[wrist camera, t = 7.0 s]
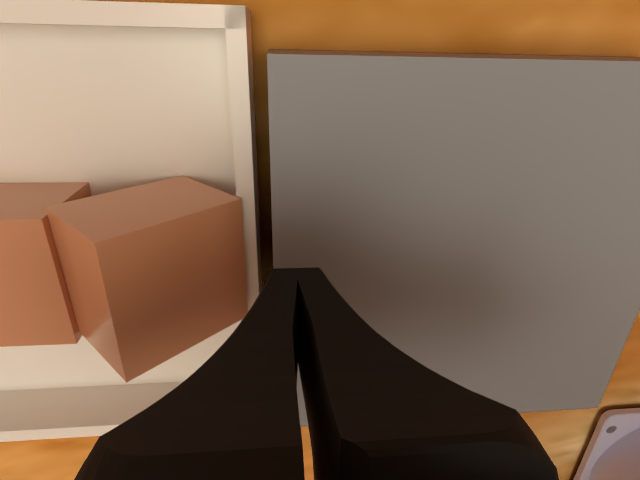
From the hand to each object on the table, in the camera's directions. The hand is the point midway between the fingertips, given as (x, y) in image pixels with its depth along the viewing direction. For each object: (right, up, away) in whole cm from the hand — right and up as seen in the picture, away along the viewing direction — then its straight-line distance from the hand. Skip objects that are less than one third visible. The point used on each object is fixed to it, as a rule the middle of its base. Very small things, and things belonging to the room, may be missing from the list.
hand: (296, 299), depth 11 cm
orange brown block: (-5, +1, +2) cm, 6 cm away
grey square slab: (+5, +2, +4) cm, 7 cm away
